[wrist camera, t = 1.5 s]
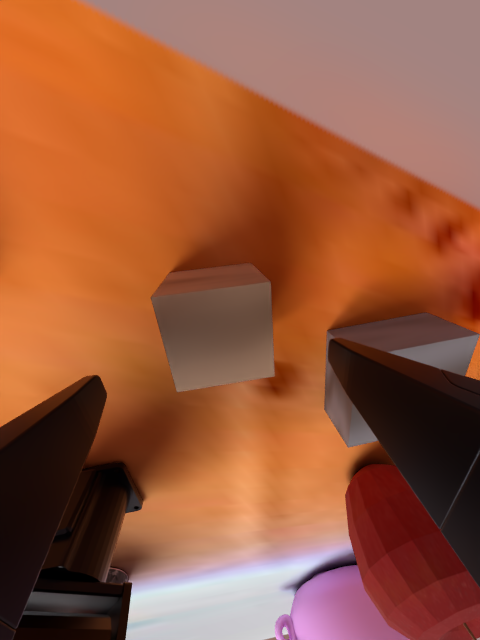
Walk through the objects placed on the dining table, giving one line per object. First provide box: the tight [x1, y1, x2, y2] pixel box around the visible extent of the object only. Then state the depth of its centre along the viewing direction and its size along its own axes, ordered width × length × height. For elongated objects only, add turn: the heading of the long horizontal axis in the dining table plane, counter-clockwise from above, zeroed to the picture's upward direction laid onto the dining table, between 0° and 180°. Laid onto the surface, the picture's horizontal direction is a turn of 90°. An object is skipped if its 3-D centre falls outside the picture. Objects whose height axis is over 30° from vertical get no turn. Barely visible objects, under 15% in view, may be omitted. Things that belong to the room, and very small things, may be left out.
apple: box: [345, 464, 480, 640], centre depth 20 cm, size 11×11×12 cm
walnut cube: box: [151, 263, 275, 392], centre depth 13 cm, size 5×5×5 cm
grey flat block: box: [324, 312, 480, 447], centre depth 17 cm, size 8×8×4 cm
